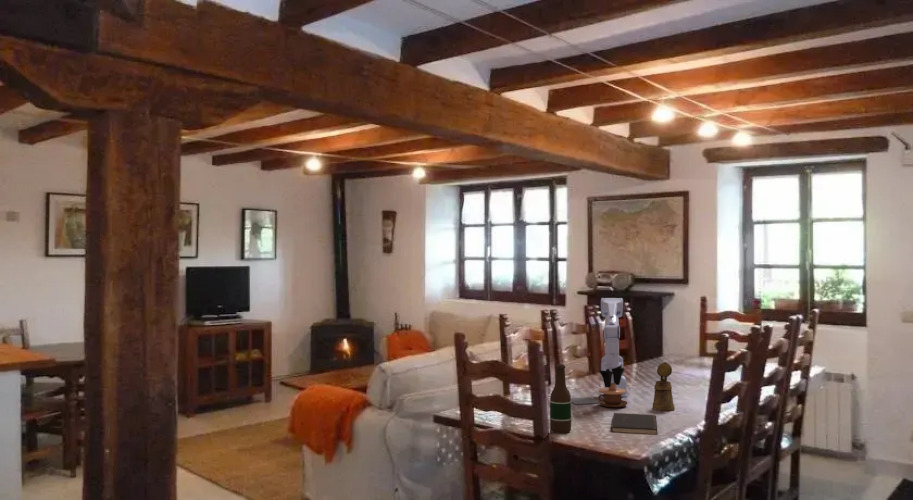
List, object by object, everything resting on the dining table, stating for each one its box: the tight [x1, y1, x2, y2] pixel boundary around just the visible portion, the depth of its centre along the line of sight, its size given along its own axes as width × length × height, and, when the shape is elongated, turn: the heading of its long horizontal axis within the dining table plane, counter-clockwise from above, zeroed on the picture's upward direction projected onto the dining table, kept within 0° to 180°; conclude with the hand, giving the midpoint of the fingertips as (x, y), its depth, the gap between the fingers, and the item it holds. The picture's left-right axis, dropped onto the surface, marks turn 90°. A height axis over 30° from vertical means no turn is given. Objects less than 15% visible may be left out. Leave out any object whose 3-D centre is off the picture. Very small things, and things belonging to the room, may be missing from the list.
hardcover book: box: [611, 412, 659, 435], centre depth 266 cm, size 16×23×2 cm
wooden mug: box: [652, 361, 675, 412], centre depth 296 cm, size 9×14×18 cm, turn 158°
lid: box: [598, 383, 626, 395], centre depth 300 cm, size 11×11×4 cm
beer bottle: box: [549, 363, 572, 434], centre depth 258 cm, size 8×8×24 cm
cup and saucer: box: [597, 393, 628, 409], centre depth 300 cm, size 12×12×6 cm
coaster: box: [571, 396, 600, 406], centre depth 310 cm, size 12×12×1 cm
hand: (612, 385), depth 300 cm, fingers open, 7 cm apart
